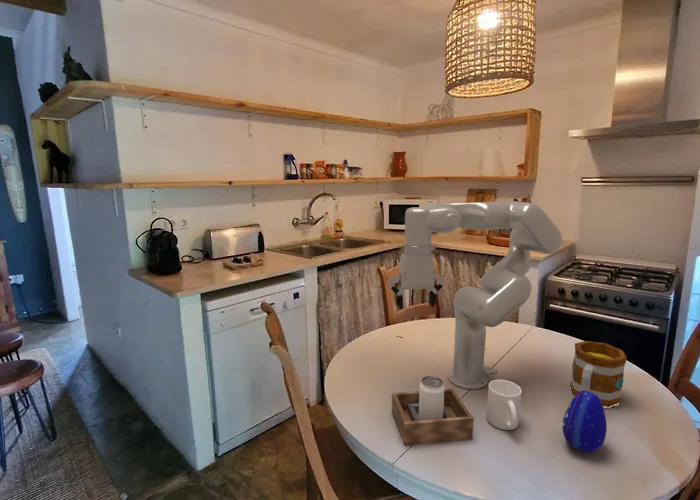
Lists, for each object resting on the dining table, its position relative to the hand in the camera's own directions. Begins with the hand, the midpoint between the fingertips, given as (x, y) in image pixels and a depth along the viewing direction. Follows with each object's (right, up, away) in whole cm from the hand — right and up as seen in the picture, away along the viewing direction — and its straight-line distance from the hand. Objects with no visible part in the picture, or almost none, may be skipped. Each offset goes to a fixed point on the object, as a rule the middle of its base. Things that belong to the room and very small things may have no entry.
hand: (415, 306), depth 115 cm
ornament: (+38, -33, -18) cm, 54 cm away
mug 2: (+53, -29, +1) cm, 60 cm away
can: (+2, -30, -10) cm, 32 cm away
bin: (+2, -31, -10) cm, 33 cm away
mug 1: (+22, -31, -10) cm, 40 cm away
